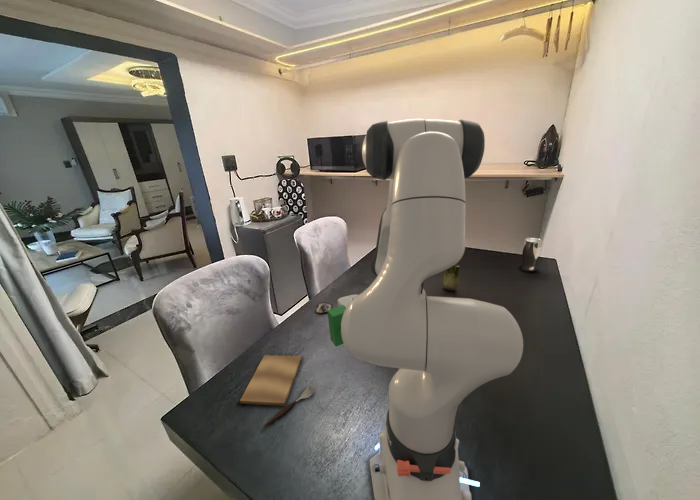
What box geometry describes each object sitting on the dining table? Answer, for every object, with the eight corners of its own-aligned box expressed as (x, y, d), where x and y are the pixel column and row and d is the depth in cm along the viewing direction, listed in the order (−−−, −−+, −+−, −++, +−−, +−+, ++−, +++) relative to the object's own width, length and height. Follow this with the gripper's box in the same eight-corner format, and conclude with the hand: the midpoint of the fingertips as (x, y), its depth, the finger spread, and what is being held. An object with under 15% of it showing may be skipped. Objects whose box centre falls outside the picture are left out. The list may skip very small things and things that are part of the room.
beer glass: (515, 268, 128) (521, 239, 122) (524, 264, 130) (530, 236, 125) (529, 273, 122) (536, 243, 116) (539, 270, 124) (546, 240, 119)
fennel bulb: (458, 290, 112) (461, 265, 107) (449, 293, 110) (451, 267, 106) (449, 284, 117) (451, 260, 113) (440, 287, 115) (442, 262, 111)
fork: (261, 425, 63) (259, 419, 62) (314, 383, 73) (313, 377, 72) (266, 432, 61) (264, 426, 60) (320, 388, 71) (319, 383, 70)
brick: (335, 346, 73) (332, 316, 69) (330, 339, 76) (327, 310, 72) (351, 340, 75) (349, 310, 72) (345, 333, 78) (343, 304, 75)
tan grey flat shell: (316, 315, 102) (316, 311, 101) (313, 304, 109) (313, 301, 108) (333, 312, 103) (333, 308, 103) (329, 301, 111) (329, 297, 110)
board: (284, 405, 67) (284, 403, 66) (240, 403, 68) (239, 400, 68) (301, 358, 82) (301, 356, 81) (264, 357, 83) (264, 355, 83)
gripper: (360, 286, 87) (321, 298, 81) (398, 317, 69) (353, 336, 64) (361, 302, 89) (323, 315, 83) (398, 337, 72) (354, 356, 66)
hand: (336, 325), depth 73 cm, fingers closed on brick, 3 cm apart
